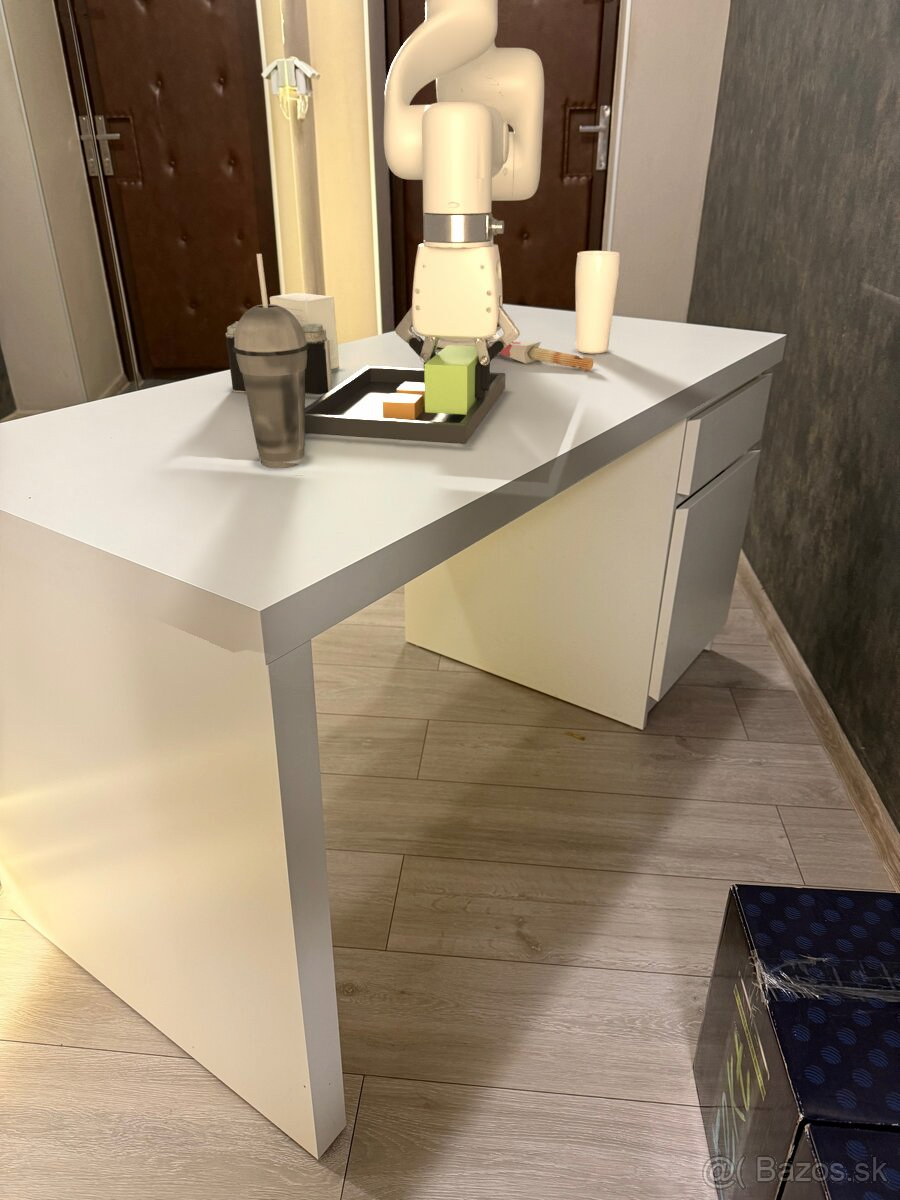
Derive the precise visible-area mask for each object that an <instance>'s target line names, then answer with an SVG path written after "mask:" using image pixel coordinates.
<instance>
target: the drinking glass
mask: <svg viewBox="0 0 900 1200" xmlns="http://www.w3.org/2000/svg"><path fill="white" fill-rule="evenodd" d="M620 266H621V253H620V252H619V251H611V250H610V251H609V250H585V251H584V250H583V251H578V252H577V257H576V264H575V277H574V278H575V282H574V286H575V289H574V290H575V345H574V347H575V349H576V351H577V352H579V353H582V354H590V355H593V354H594V355H595V354H597V355H599V354H604V353H606V352H607V351H608V350H609V344H610V343H609V342H610V334H611V329H612V328H611V327H612V321H613V315H614V311H615V310H614V309H615V304H616V299H617V293H618V285H619V279H620V278H619V277H620V270H621V269H620V268H621V267H620Z"/></svg>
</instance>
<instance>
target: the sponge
mask: <svg viewBox="0 0 900 1200" xmlns="http://www.w3.org/2000/svg"><path fill="white" fill-rule="evenodd" d="M435 354H436V355H435V356H434V357H433V358H432V359H430V360H429V361H428V362H427V363H426V364H424V363H423V369H424V382H425V412H426V413H444V414H461V415H467V414H468V412H469V411H470V410H471V409H472V407H473V406H474V405H475V404H476V402H477V401H478V400H479V399H476V398H475V366H476V365H477V364H478V359H479V357H478V354H477V350H476V346H457V345H447V346H446V347H445V348H442V349H441V350H440V351H438V353H435Z"/></svg>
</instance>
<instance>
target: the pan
mask: <svg viewBox="0 0 900 1200" xmlns="http://www.w3.org/2000/svg"><path fill="white" fill-rule="evenodd" d="M506 375H507V374H506V373H505V372H491V371H490V387H489V390H488V391H485V394H484V395H483V397H482V398H481V399H479V400H478V401H477V402H476V404H475V405H474V406H473V407H472V409H471V410H470V411H469V412H468V414H467V415H461V414H444V413H426V412H425V407H423V412H422V413H421V414H420V415H419V416H418V417H417V418H416V419H415V420H409V419H393V418H383V414H382V401H383V400H384V399H385V398H387V397H388V396H389V395H390V394H391V393H396V389H397V388H399V387H400V386H401V385H402V384H403V383H405V382H414V383H424V368H413V367H412V368H411V367H409V368H408V367H392V366H369V365H366V366H365V367H363V368H362V369H360V370H359V371H357V372H355V373H354V374H353V375H351V376H350V377H348V378H347V379H345V380H344V381H342V382H341V383H339V384H338V385H337V386H335V387H334V388H332V390H331V391H329V392H327V393H324V394H322V396H321V397H319V398H317V399H316V400H314V401H313V402H311V403H310V404H308V405H307V406H305V434H309V435H310V434H311V435H324V436H325V435H326V436H327V435H328V436H339V437H340V436H342V437H354V438H355V437H357V438H369V439H384V440H399V441H400V440H401V441H411V442H412V441H414V442H427V443H443V444H455V445H456V444H457V445H466V444H467V443H468V441H469V440H470V438H471V437H472V436H473V434H474V433H475V431H476V430H477V429H478V427H479V425H480V424H481V423H482V422H483V420H484V419H485V417H486V416H487V415H488V413H489V412H490V410H491V409H492V407H494V405H495V404H496V402H497V401H498V399H499V398H500V397H501V395H502V394H503V393H504V391H505V389H506ZM396 394H397V393H396Z"/></svg>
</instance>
